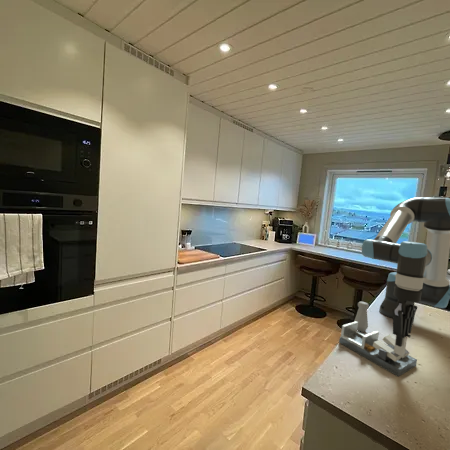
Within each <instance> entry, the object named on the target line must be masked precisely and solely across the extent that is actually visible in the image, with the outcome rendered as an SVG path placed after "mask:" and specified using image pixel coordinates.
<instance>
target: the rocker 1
mask: <svg viewBox="0 0 450 450" xmlns="http://www.w3.org/2000/svg"><path fill="white" fill-rule="evenodd" d="M387 345H388V344H387V343H385V342H384V341H382V340H380V339H378V341H375V342H374V343H373V346H374V347H375V348H376V349H378V350H379V348H381V349H383V350H385V351H387V356H388V357H389V358H391V359H392V360H394V361H397V360H399V359H400V358H401V356H400V355H398V354H396V353H394V350H393V349H392V348H390V347H389V346H387Z"/></svg>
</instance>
